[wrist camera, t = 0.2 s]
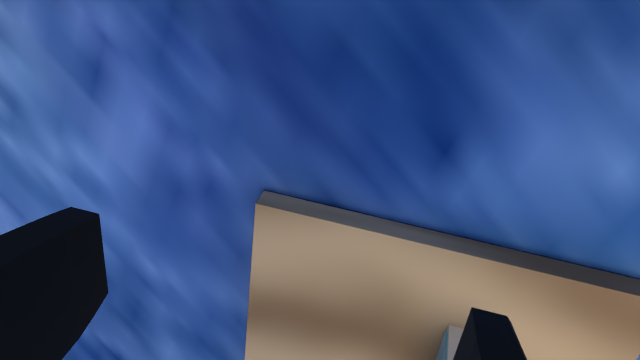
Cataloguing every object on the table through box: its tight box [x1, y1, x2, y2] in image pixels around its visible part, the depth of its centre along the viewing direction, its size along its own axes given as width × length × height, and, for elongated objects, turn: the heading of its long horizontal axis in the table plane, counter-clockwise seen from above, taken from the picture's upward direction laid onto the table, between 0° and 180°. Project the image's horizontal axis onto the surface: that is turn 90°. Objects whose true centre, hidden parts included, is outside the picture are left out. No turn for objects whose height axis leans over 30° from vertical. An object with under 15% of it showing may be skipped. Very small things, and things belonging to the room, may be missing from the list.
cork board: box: [245, 191, 640, 360], centre depth 23 cm, size 12×15×1 cm
